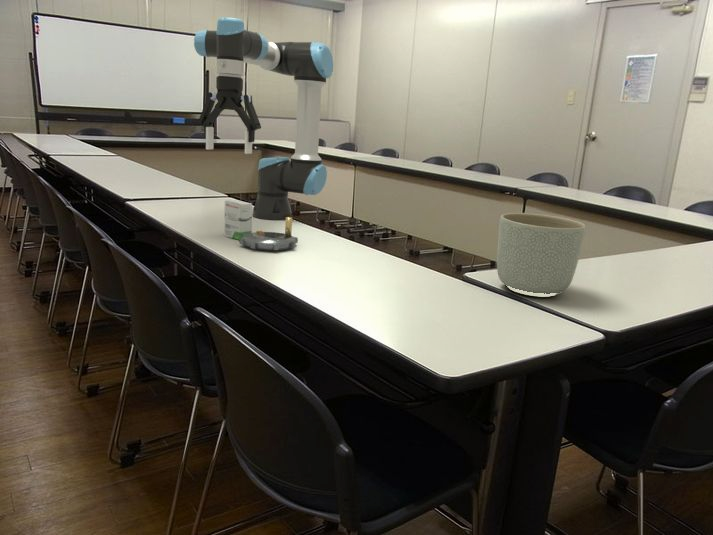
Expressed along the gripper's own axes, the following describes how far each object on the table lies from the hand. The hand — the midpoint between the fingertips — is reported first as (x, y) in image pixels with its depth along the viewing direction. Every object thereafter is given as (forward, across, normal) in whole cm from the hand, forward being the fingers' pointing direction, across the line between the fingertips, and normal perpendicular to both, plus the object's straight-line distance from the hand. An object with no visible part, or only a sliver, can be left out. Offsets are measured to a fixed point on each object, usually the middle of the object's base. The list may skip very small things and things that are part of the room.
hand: (228, 151), depth 170 cm
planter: (+28, +91, +6) cm, 95 cm away
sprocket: (+28, +12, +5) cm, 31 cm away
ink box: (+28, -2, +9) cm, 30 cm away
